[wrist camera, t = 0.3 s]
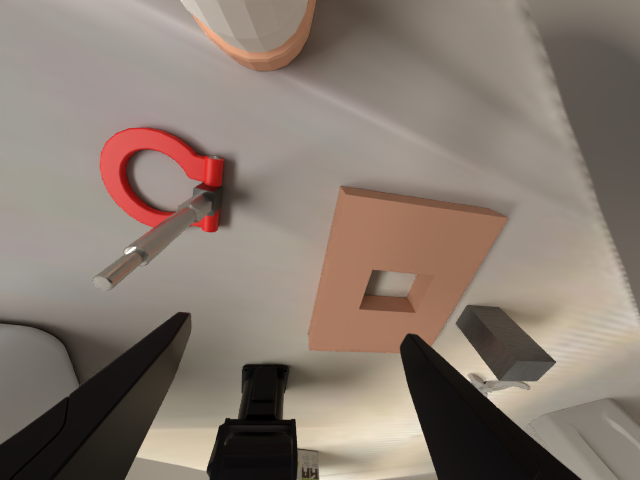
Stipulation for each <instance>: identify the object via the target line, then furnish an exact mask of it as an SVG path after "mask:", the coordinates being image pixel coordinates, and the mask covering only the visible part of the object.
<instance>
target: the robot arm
mask: <svg viewBox="0 0 640 480" xmlns="http://www.w3.org/2000/svg"><path fill="white" fill-rule="evenodd" d="M190 333H191V314H190V313H187V312H178V313H176V314H175V315H174V316H172V317H171V318H170V319H168V320H167V321H166V322H164V323H163V324H162V325H160V326H159V327H158V328H156V329H155V330H154V331H152V332H151V333H150V334H149V335H147V336H146V337H145V338H143V339H142V340H141V341H139V342H138V343H137V344H135V345H134V346H133V347H131V348H130V349H129V350H127V351H126V352H125V353H123V354H122V355H121V356H119V357H118V358H117V359H115V360H114V361H113V362H111V363H110V364H109V365H107V366H106V367H105V368H104V369H102V370H101V371H100V372H98V373H97V374H96V375H94V376H93V377H92V378H90V379H89V380H88V381H86V382H85V383H84V384H82V385H81V386H80V387H78V388H77V389H76V390H74V391H73V392H72V393H70V395H69V397H68V396H67V397H65V398H64V399H62V400H61V401H60V402H58V403H57V404H56V405H54V406H53V407H52V408H50V409H49V410H48V411H46V412H45V413H44V414H42V415H41V416H40V417H38V418H37V419H35V420H34V421H33V422H31V423H30V424H29V425H27V426H26V427H24V428H23V429H22V430H20V431H19V432H17V433H16V434H14V435H13V436H12V437H10V438H9V439H7V440H6V441H4V442H3V443H1V444H0V480H125V478H126V476H127V473H128V471H129V469H130V467H131V465H132V463H133V461H134V459H135V457H136V455H137V453H138V451H139V449H140V447H141V445H142V443H143V441H144V439H145V437H146V435H147V433H148V430H149V428H150V426H151V424H152V422H153V420H154V418H155V416H156V414H157V412H158V410H159V408H160V406H161V404H162V402H163V400H164V398H165V396H166V394H167V392H168V389H169V387H170V385H171V383H172V381H173V379H174V377H175V374H176V372H177V369H178V366H179V364H180V361H181V358H182V355H183V353H184V350H185V347H186V344H187V342H188V339H189V336H190ZM400 353H401V358H402V362H403V366H404V371H405V375H406V380H407V384H408V387H409V391H410V394H411V397H412V400H413V403H414V406H415V409H416V412H417V415H418V419H419V422H420V425H421V428H422V431H423V434H424V437H425V440H426V443H427V446H428V449H429V452H430V456H431V459H432V462H433V465H434V468H435V471H436V474H437V477H438V480H582V479H581V478H580V477H578V476H577V475H576V474H575V473H573V472H572V471H571V470H570V469H569V468H567V467H566V466H565V465H564V464H563V463H561V462H560V461H559V460H558V459H557V458H555V457H554V456H553V455H552V454H551V453H549V452H548V451H547V450H546V449H545V448H543V447H542V446H541V445H540V444H539V443H537V442H536V441H535V440H534V439H533V438H531V437H530V436H529V435H528V434H527V433H526V432H524V431H523V430H522V429H521V428H520V427H519V426H518V425H516V424H515V423H514V422H513V421H512V420H511V419H510V418H509V417H507V416H506V415H505V414H504V413H503V412H502V411H501V410H500V409H499V408H497V407H496V406H495V405H494V404H493V403H492V402H491V401H490V400H489V399H488V398H487V397H485V396H484V395H483V394H482V393H481V392H480V391H479V390H478V389H477V388H476V387H474V386H473V385H472V384H471V383H470V382H469V381H468V380H467V379H466V378H465V377H463V376H462V375H461V374H460V373H459V372H458V371H457V370H456V369H455V368H454V367H453V366H451V365H450V364H449V363H448V362H447V361H446V360H445V359H444V358H443V357H442V356H440V355H439V354H438V353H437V352H436V351H435V350H434V349H433V348H432V347H431V346H429V345H428V344H427V343H426V342H425V341H424V340H423V339H422V338H421V337H420V336H418V335H417V334H412V333H408V334H407V335H406V336H405V338H404V339H403V341H402V343H401V345H400ZM288 374H289V367H288V366H266V365H245V366H243V369H242V399H241V404H240V409H239V415H238V419H230V418H226V420H225V423H224V424H222V425H220V426H219V429H218V433H217V437H216V441H215V444H214V448H213V451H212V454H211V457H210V460H209V463H208V467H207V474H208V476H209V478H210V480H297V470H298V450H297V435H296V421H295V419H291V420H283V401H284V393H285V390H286V385H287V379H288Z"/></svg>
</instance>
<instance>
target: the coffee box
mask: <svg viewBox="0 0 640 480" xmlns="http://www.w3.org/2000/svg"><path fill="white" fill-rule="evenodd" d="M297 450H298V449H297ZM297 480H319V467H318V452H315V451H306V450H298V470H297Z"/></svg>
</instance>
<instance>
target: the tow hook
mask: <svg viewBox="0 0 640 480" xmlns="http://www.w3.org/2000/svg"><path fill="white" fill-rule="evenodd" d="M142 149H151V150H156V151H160V152H162V153H164V154H166V155H168V156H170V157H171V158H172V159H174V160H175V161H176V162H177V163H178V164H179V165H180V166H181V167H182V168H183V169H184V171H185V172H186V174H187V176H188V177H189V178H191V179H194V180H198V181H202V182H203V183H201V184H200V185H198V186H196V187H195V188H194V189H193V197H191V198H190V199H188V200H187V201H185V202H184V203H182V204H181V205H179V207H178V211H177V212H163V211H159V210H156V209H154V208H151V207H150V206H148V205H146V204H145V203H143V202H142V201H141V200H140V199H139V198H138V197H137V196H136V195H135V193H134V192H133V191H132V189H131V188H130V185H129V183H128V181H127V176H126V167H127V162H128V161H129V159H130V157H131V156H132V155H133V154H134V153H135V152H137V151H139V150H142ZM223 163H224V159H222V158H220V157H217V156H213V155H206V156H201V155H197V154H196V152H195V151H194V150H193V149H192V148H191V147H190V146H188V145H187V144H186V143H185V142H183V141H182V140H181V139H179V138H178V137H176V136H174V135H171V134H169V133H167V132H165V131H162V130H158V129H153V128H129V129H126V130H123V131H121V132H118V133H116V134H115V135H114V136H112V137H111V138H110V139H109V140H108V141H107V142H106V144H105V146H104V148H103V150H102V152H101V158H100V170H101V175H102V180H103V182H104V184H105V186H106V188H107V191H108V193H109V194H110V195H111V197H112V198H113V199H114V201H115V202H116V203H117V205H118V206H119V207H121V208H122V209H123V210H124V211H125V212H126V213H127V214H128V215H130V216H131V217H133V218H135V219H136V220H138V221H140V222H141V223H143V224H146V225H149V226H151V227H154V228H153V229H151V230H150V231H149V232H147V233H146V234H144V235H143V236H142V237H140V238H139V239H137V240H136V241H135V242H133V243H132V244H130V245H129V246H128V247H126V248H125V249H124V251H123V254H124V255H123V256H122V257H121V258H119V259H118V260H117V261H115V262H114V263H113V264H111V265H110V266H108V267H107V268H106V269H104V270H103V271H102V272H100V273H99V274H98V275H96V276H95V277H94V278H93V283H94V285H95V286H96V287H97V288H99V289H101V290H111V289H113V288H114V287H115V286H116V285H117V284H118V283H119V282H121V281H122V280H123V279H124V278H125V277H126V276H127V275H129V274H130V273H131V272H132V271H133V270H134V269H136V268H137V267H138V266H145V265H147V264H148V263H149V262H150V261H151V260H152V259H154V258H155V257H156V256H157V255H158V254H159V253H160V252H161V251H162V250H164V249H165V248H166V247H167V246H168V245H169V244H170V243H171V242H172V241H173V240H175V239H176V238H177V237H178V236H179V235H180V234H181V233H182V232H183V231H184V230H186V229H187V228H188V227H189V226H192V225H193V226H198V227H202V230H203V231H206V232H216V231H217V230H218V222H219V210H220V208H221V201H222V189H223V186H222V175H223Z"/></svg>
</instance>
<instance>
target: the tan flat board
mask: <svg viewBox="0 0 640 480" xmlns="http://www.w3.org/2000/svg"><path fill="white" fill-rule="evenodd" d="M507 220H508V218H507V217H505V216H503V215H501V214H499V213H497V212H495V211H493V210H491V209H488V208H482V207H475V206H469V205H462V204H455V203H449V202H442V201H436V200H429V199H422V198H416V197H409V196H403V195H396V194H389V193H383V192H376V191H370V190H363V189H356V188H350V187H343V186H341V187H340V191H339V196H338V200H337V205H336V209H335V214H334V219H333V223H332V228H331V232H330V237H329V241H328V246H327V251H326V255H325V260H324V264H323V269H322V273H321V278H320V283H319V287H318V292H317V296H316V301H315V305H314V310H313V315H312V319H311V324H310V328H309V333H308V335H309V350H317V351H350V352H383V353H400V345H401V343H402V341H403V339H404V338H405V336H406V335H407V334H408V333H412V334H417V335H418V336H420V337H421V338H422V339H423V340H424V341H425V342H426V343H427V344H428V345H429V346H432V344H433V343H434V341H435V339H436V338H437V336H438V334H439V333H440V331H441V329H442V328H443V326H444V324H445V323H446V321H447V319H448V318H449V316H450V314H451V313H452V311H453V309H454V308H455V306H456V304H457V303H458V301H459V299H460V298H461V296H462V294H463V293H464V291H465V289H466V288H467V286H468V284H469V283H470V281H471V279H472V278H473V276H474V274H475V273H476V271H477V270H478V268H479V266H480V265H481V263H482V261H483V260H484V258H485V256H486V255H487V253H488V251H489V250H490V248H491V246H492V245H493V243H494V241H495V240H496V238H497V236H498V235H499V233H500V231H501V230H502V228H503V226H504V225H505V223H506V221H507ZM372 270H381V271H392V272H403V273H414V274H418V275H417V277H416V279H415V281H414V284H413V286H412V288H411V290H410V292H409V295H408V297H407V298H400V297H386V296H372V295H364V293H365V290H366V287H367V284H368V281H369V278H370V275H371V273H372Z"/></svg>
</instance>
